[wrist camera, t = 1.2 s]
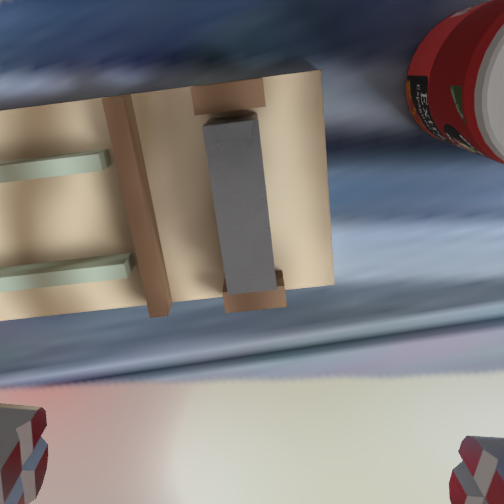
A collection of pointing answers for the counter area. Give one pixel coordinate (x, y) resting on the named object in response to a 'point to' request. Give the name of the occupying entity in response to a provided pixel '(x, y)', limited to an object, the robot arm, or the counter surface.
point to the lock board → (154, 198)
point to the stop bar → (240, 202)
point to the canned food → (462, 80)
